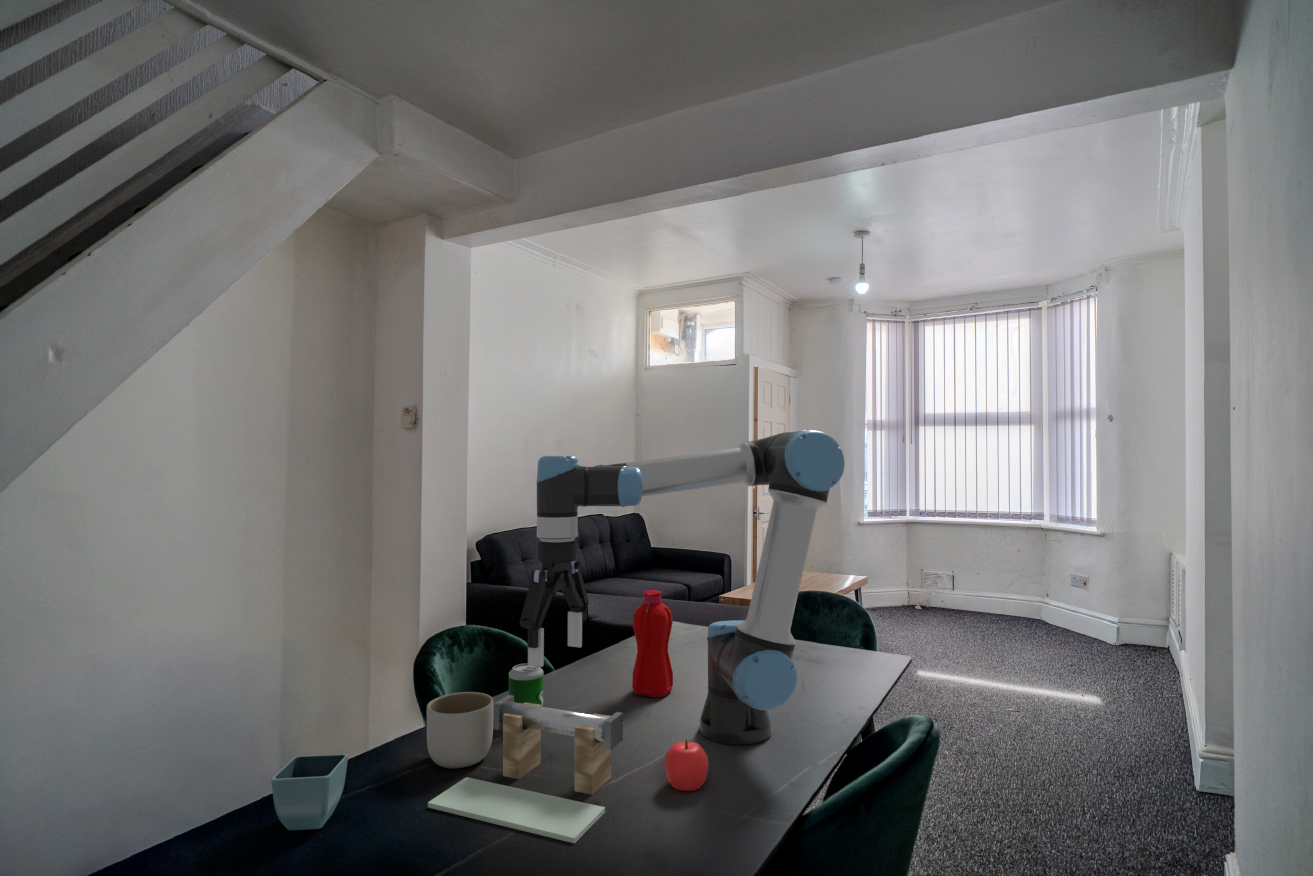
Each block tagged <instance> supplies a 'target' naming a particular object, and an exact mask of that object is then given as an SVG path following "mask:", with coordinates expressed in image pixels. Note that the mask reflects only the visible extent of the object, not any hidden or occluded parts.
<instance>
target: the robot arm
mask: <svg viewBox="0 0 1313 876" xmlns="http://www.w3.org/2000/svg"><path fill="white" fill-rule="evenodd" d="M844 471H845V455H844V452H843V450H842V448H841V447H840V445H839V443H838V441H837V440H836V439H835V438H834V437H832V436H831V435H830V434H828V433H826V432H823V431H821V430H812V429H807V428H806V429H801V430H797V431H786V432H781V433H778V434H775V435H773V434H772V435H770V436H767V437H764V438H760V439H759V438H758V439H756V440H750V441H745V442H744V441H743V442H741V443H740V444H739V446H738V447H733V448H725V449H718V450H711V451H704V452H702V451H701V452H695V453H687V454H682V455H681V454H680V455H673V456H664V457H659V458H658V457H657V458H656V457H655V458H649V459H642V460H634V461H628V462H627V461H626V462H622V463H620V462H619V463H613V464H598V465H594V466H586V465H585V466H583V465H580V463H579V458H578V457H577V456H576V455H575V456H574V455H544V456H542V457H540V458H539V459H538V461H537V471H536V473H537V474H536V537H537V538H538V539H539V540H537V541H536V543H535V544H536V545H535V547H536V551H535V554H536V555H535V558H536V560H537V561H538V562H540V563H541V569H539V570H537V569H531V572H530V579H529V586H528V589H527V593H526V597H525V601H524V605H523V609H522V613H521V616H520V620H519V627H521V628H523V629H527V664H528V665H530V666H538V667H540V668H542V667H544V662H545V661H544V657H545V656H544V654H545V651H544V648H545V647H544V646H545V643H544V642H545V638H544V637H545V633H544V632H545V631H544V630H545V628H544V627H542V625H543V622H544V619H545V617H546V616H547V615H546V614H547V613H548V609H549V608H550V607H549V606H550V604H551V602H552V599H553V597H554V596H556V595H557V592H560V591H561V593H562V595H563V597H564V599H565V601H566V604H567V605H568V607H569V609H570V611H568V612H567V646H568V647H572V648H582V646H583V613H584V612H585V613H586V612H588V609H589V608H588V606H589V605H590V604H589V603H590V602H589V598H588V597H589V596H588V594H587V591H586V585H585V582H584V578H583V574H582V565H581V561H579V560H578V541H577V540H576V538H577V537H578V536H579V533H578V529H579V527H578V525H579V523H578V518H579V517H578V514H579V513H578V510H579V509H578V508H579V507H582V508H585V507H621V508H625V507H633V506H634V507H635V506H639V505H640V503H641V502H642V498H643V497H649V496H656V495H663V494H671V493H676V492H677V493H678V492H686V491H693V490H699V489H707V488H714V487H720V486H721V487H722V486H728V485H735V484H736V485H737V484H744V485H746V486H747V487H753V486H754V487H755V486H768V490H767V491H768V493H769V495H770V496H771V498H772V500H773V502H772V507H771V511H770V516H769V519H768V523H767V524H768V525H767V529H766V532H765V537H764V542H763V545H762V546H763V547H762V552H761V554H760V555H761V556H760V559H759V564H758V568H757V573H756V575H755V576H756V577H755V582H754V586H753V590H752V595H751V599H750V602H749V607H748V610H747V611H748V612H747V616H746V619H745V620H741V619H740V620H737V619H735V620H721V621H715V622H712V623H711V624H709V626H708V627H707V636H706V641H707V695H706V699H705V702H704V704H703V707H702V708H703V709H702V712H701V715H700V719H699V732H700V733H701V735H703V737H705V738H706V739H708V740H711V741H713V742H717V743H721V744H726V745H739V746H740V745H742V746H743V745H752V744H756V743H762V742H763V741H765V740H767V739H769V738H770V737H771V735H772V720H771V717H770V713H769V711H770V710H775V709H777V708H779V707H780V706H782V705H784V704H785V703H787V702H788V701H789V700H790V698H791V697H792V696H793V694H794V692H795V690H796V688H797V684H798V673H797V668H796V666H795V664H794V662H793V657H794V651H795V647H796V639H795V638H794V636H793V634H792V632H791V628H792V624H793V619H794V614H795V611H796V610H795V609H796V604H797V601H798V597H799V591H800V586H801V583H802V578H803V574H804V569H805V565H806V559H807V555H808V550H809V545H810V543H811V542H810V541H811V538H812V533H813V529H814V525H815V521H816V517H817V516H816V515H817V512H818V510H820V509H821V508H823V507H824V506H826V505H827V503H828V498H829V493H830V490H831V488H833V487H834V486H835V485H837V484H838V483H839V482H840V480H841V479H842V477H843V475H844ZM577 560H578V561H577Z"/></svg>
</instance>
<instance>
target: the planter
mask: <svg viewBox="0 0 1313 876" xmlns="http://www.w3.org/2000/svg"><path fill="white" fill-rule="evenodd" d="M494 703H495V702H494V698H493V696H491V695H489V694H487V693H483V692H476V691H464V692H463V691H461V692H453V693H449V694H448V693H447V694H444V695H441V696H438V697H435V698H434V699H432V700H430V701H429V702H428V703H427V704H426V745H427V746H426V747H427V750H428V754H429V756H430V758H431V760H432V761H433V762H434V763H435V764H436V765H438V766H439V767H441V768H446V769H463V768H467V767H471V766H474V765H476V764H478V763H479V762H481V761H482V760H483V759H484V758H486V756H487V755H488V754H489V752H490V749H491V746H492V744H493V735H494V734H493V733H494Z"/></svg>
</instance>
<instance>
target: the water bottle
mask: <svg viewBox="0 0 1313 876" xmlns="http://www.w3.org/2000/svg"><path fill="white" fill-rule="evenodd" d="M673 623H674V621H673V614H672V611H671V609H670V608H669V606H667V605H666V604H665V603H663V602H662V591H660V590H656V589H650V590H645V591H644V592H643V603H641V605H640V606H638V607H637V608H636V609H635V611H634V613H633V616H632V629H633V634H634V638H635V642H636V651H637V653H636V656H635V660H634V666H633V671H632V682H631V683H632V684H631V687H632V688H631V689H632V691H633V692H634V693H635V694H636V695H637V696H643V697H651V698H662V697H665V696H667V695H668V693H669V692H671V691H672V690H673V685H674V672H673V668H672V663H671V662H672V661H671V658H670V652H669V642H670V637H671V633H672V627H673Z"/></svg>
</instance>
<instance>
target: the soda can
mask: <svg viewBox="0 0 1313 876" xmlns="http://www.w3.org/2000/svg"><path fill="white" fill-rule="evenodd" d="M508 695H512V696H514V702H515V703H522V704H523V703H525V702H526V703H532V704H539V705H541V707H544V670H543V669H542V667H538V666H530V665H528V663H519V664H516V665H514V666H512V668H511V670H510V671H509V672H508Z"/></svg>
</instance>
